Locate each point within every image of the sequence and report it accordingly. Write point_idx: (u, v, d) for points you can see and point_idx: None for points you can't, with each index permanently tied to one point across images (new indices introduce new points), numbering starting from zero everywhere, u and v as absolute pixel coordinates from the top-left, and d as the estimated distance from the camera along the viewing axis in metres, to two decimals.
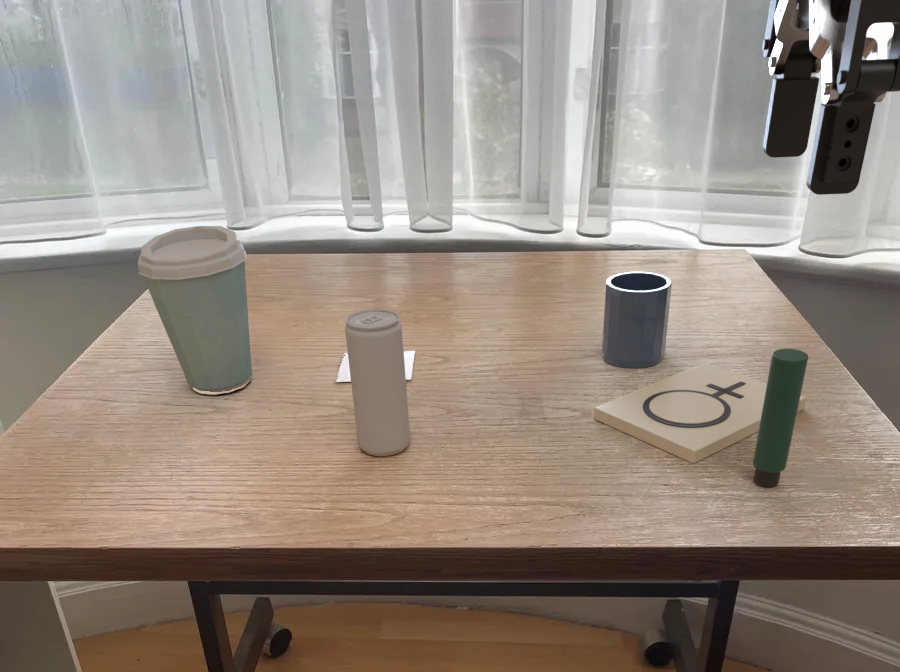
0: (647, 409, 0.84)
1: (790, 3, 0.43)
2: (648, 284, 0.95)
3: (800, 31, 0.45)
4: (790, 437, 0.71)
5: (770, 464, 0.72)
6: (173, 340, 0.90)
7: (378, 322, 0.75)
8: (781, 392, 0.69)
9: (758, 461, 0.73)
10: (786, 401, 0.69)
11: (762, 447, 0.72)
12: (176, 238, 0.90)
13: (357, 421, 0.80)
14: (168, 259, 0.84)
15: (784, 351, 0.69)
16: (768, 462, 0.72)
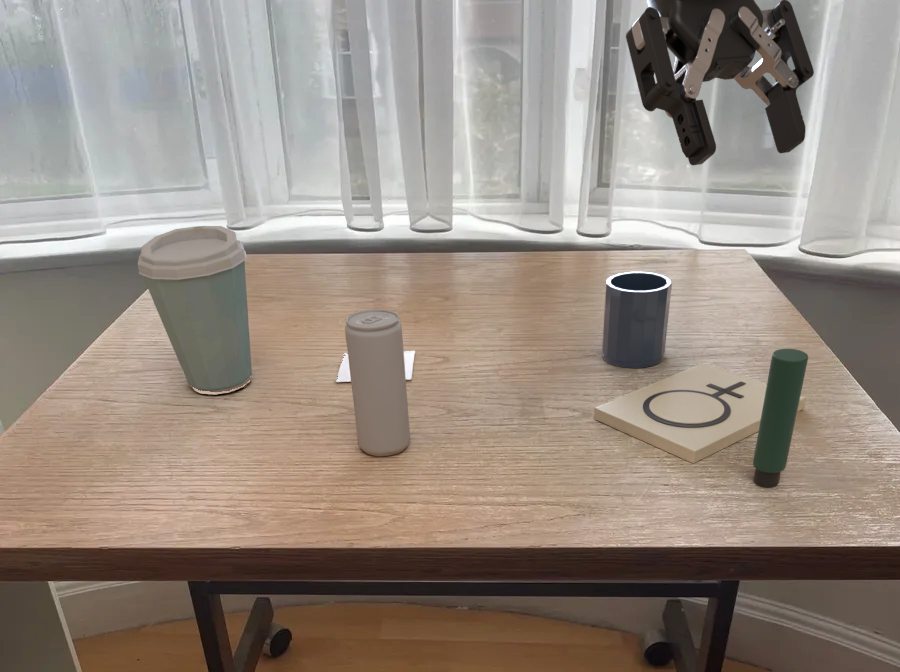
0: (647, 409, 0.84)
1: None
2: (648, 284, 0.95)
3: (750, 76, 0.67)
4: (790, 437, 0.71)
5: (770, 464, 0.72)
6: (173, 340, 0.90)
7: (378, 322, 0.75)
8: (781, 392, 0.69)
9: (758, 461, 0.73)
10: (786, 401, 0.69)
11: (762, 447, 0.72)
12: (176, 238, 0.90)
13: (357, 421, 0.80)
14: (168, 259, 0.84)
15: (784, 351, 0.69)
16: (768, 462, 0.72)
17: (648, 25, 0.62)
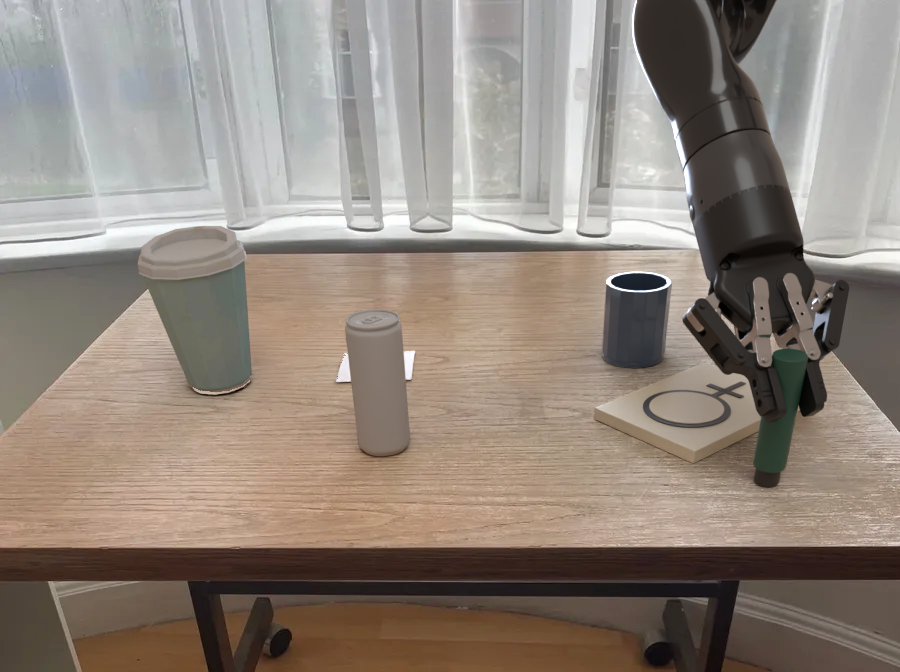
0: (647, 409, 0.84)
1: None
2: (648, 284, 0.95)
3: (783, 337, 0.71)
4: (790, 437, 0.71)
5: (770, 464, 0.72)
6: (173, 340, 0.90)
7: (378, 322, 0.75)
8: None
9: (758, 461, 0.73)
10: (786, 401, 0.69)
11: (762, 447, 0.72)
12: (176, 238, 0.90)
13: (357, 421, 0.80)
14: (168, 259, 0.84)
15: (784, 351, 0.69)
16: (768, 462, 0.72)
17: (703, 316, 0.68)
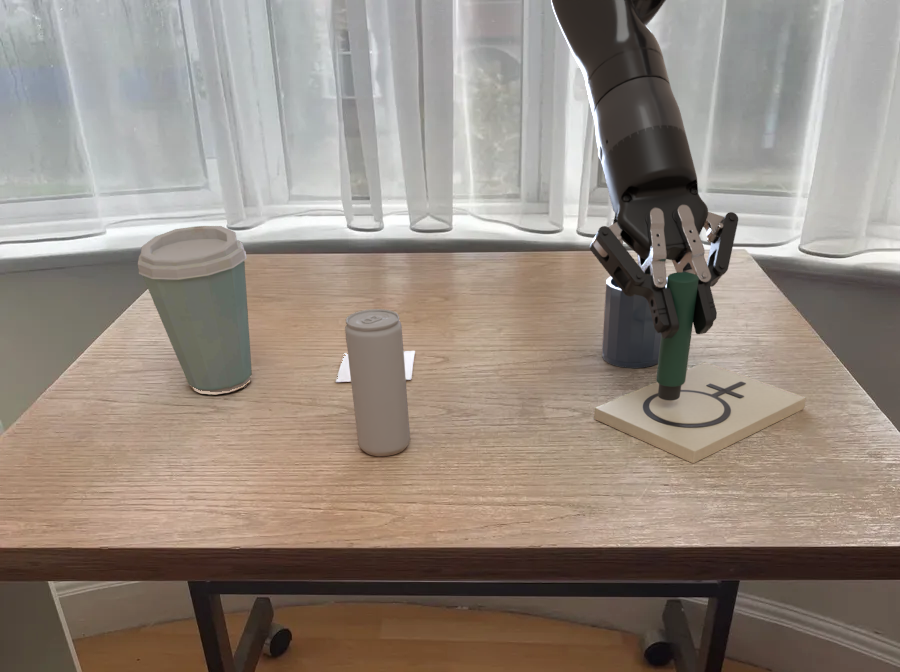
0: (647, 409, 0.84)
1: None
2: None
3: (680, 263, 0.79)
4: (686, 353, 0.80)
5: (670, 378, 0.81)
6: (173, 340, 0.90)
7: (378, 322, 0.75)
8: None
9: (660, 376, 0.82)
10: (680, 319, 0.78)
11: (662, 362, 0.81)
12: (176, 238, 0.90)
13: (357, 421, 0.80)
14: (168, 259, 0.84)
15: (678, 274, 0.77)
16: (668, 376, 0.81)
17: (605, 242, 0.76)
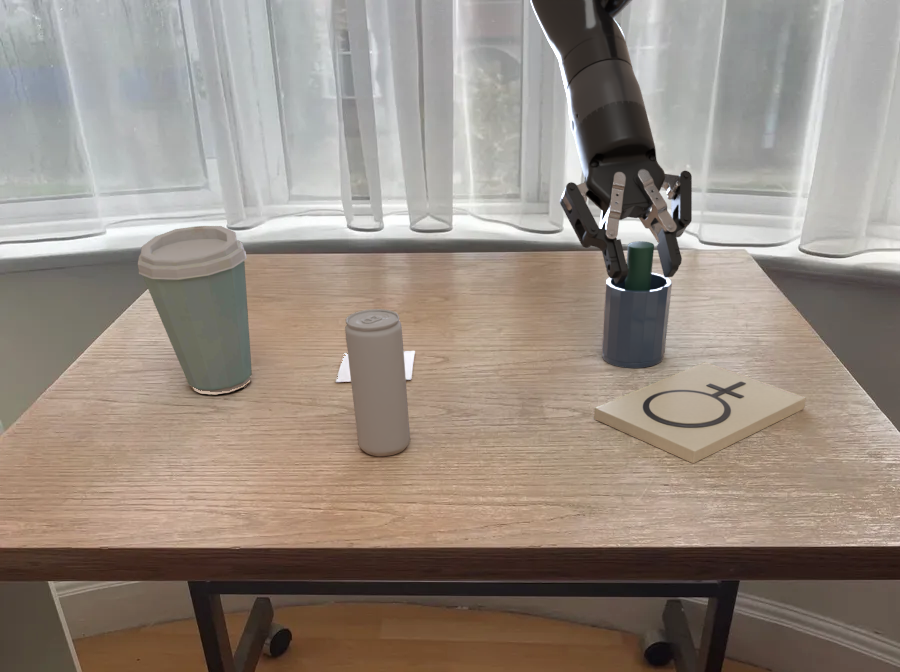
0: (647, 409, 0.84)
1: None
2: None
3: (647, 219, 0.92)
4: None
5: None
6: (173, 340, 0.90)
7: (378, 322, 0.75)
8: (635, 273, 0.91)
9: None
10: (639, 281, 0.91)
11: None
12: (176, 238, 0.90)
13: (357, 421, 0.80)
14: (168, 259, 0.84)
15: (637, 242, 0.91)
16: None
17: (570, 195, 0.89)
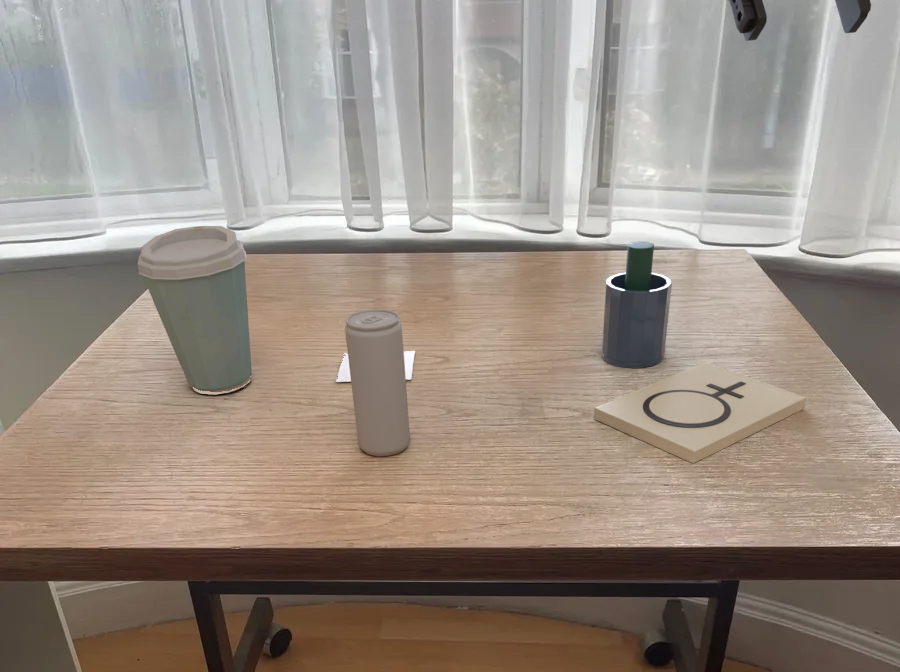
0: (647, 409, 0.84)
1: None
2: None
3: None
4: None
5: None
6: (173, 340, 0.90)
7: (378, 322, 0.75)
8: (635, 274, 0.91)
9: None
10: (639, 281, 0.91)
11: None
12: (176, 238, 0.90)
13: (357, 421, 0.80)
14: (168, 259, 0.84)
15: (637, 243, 0.91)
16: None
17: None
